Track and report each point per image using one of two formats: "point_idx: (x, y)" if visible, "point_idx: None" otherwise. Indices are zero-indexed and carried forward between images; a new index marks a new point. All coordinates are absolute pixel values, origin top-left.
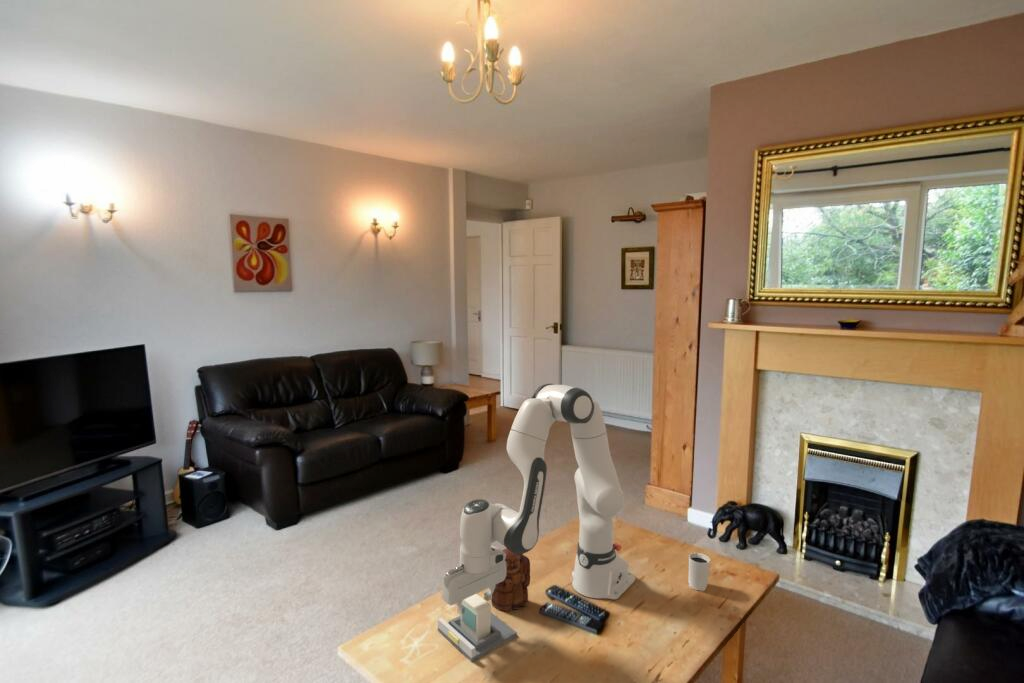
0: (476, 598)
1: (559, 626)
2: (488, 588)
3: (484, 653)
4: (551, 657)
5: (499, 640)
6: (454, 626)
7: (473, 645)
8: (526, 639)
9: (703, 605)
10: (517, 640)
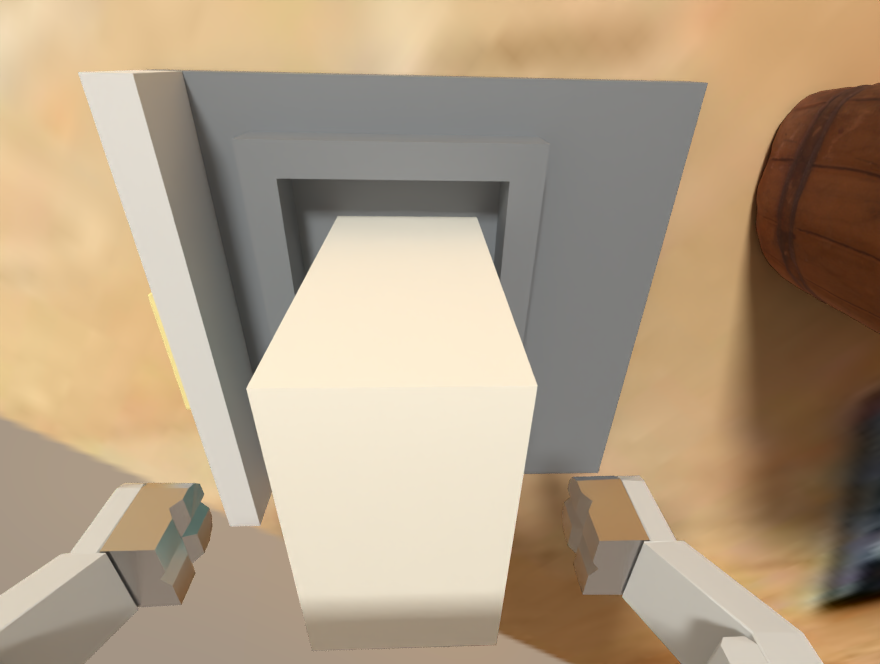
0: (446, 520)
1: (794, 516)
2: (695, 599)
3: None
4: (577, 596)
5: None
6: (252, 240)
7: None
8: None
9: None
10: (563, 477)
